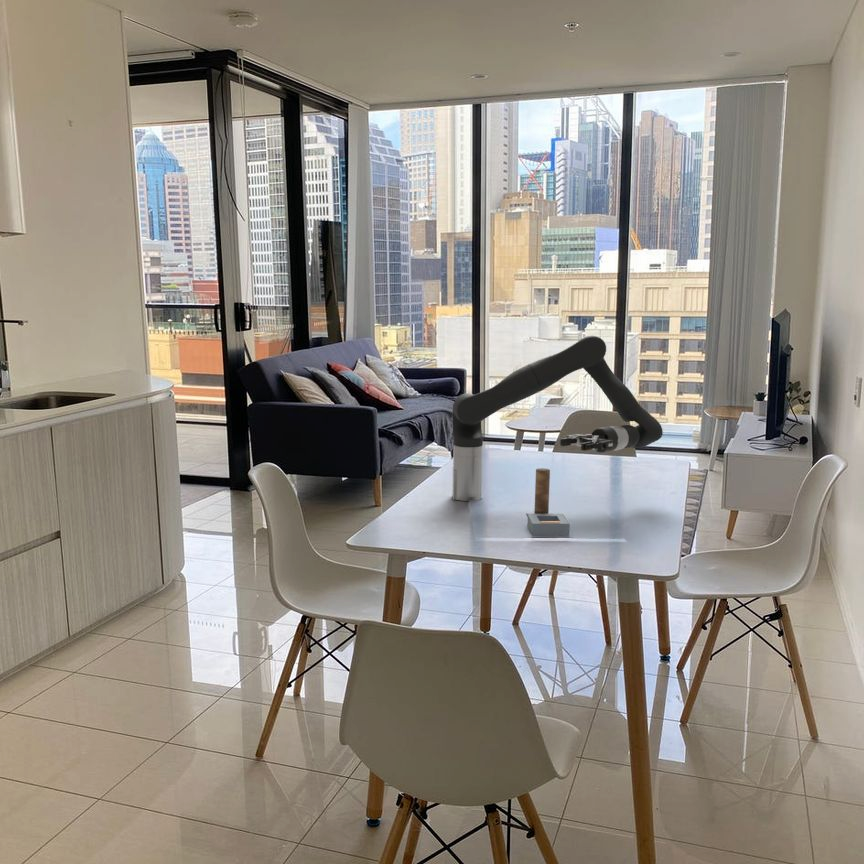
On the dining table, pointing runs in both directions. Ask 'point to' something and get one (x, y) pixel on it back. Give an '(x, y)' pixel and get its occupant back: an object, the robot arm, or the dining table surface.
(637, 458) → the dining table surface
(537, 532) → the socket block
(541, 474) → the walnut peg
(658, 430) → the robot arm
